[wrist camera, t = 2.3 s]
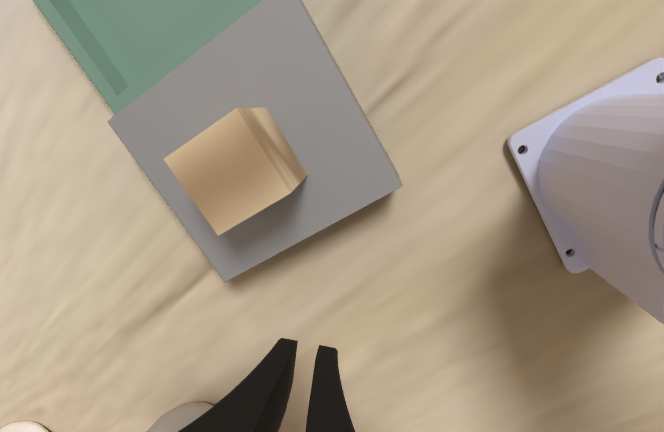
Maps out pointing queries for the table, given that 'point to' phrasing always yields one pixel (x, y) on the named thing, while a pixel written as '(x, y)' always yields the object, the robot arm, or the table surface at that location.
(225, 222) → the maple block
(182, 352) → the table surface
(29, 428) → the skull bowl
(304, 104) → the slate plate
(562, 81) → the table surface
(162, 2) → the box
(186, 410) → the donut
